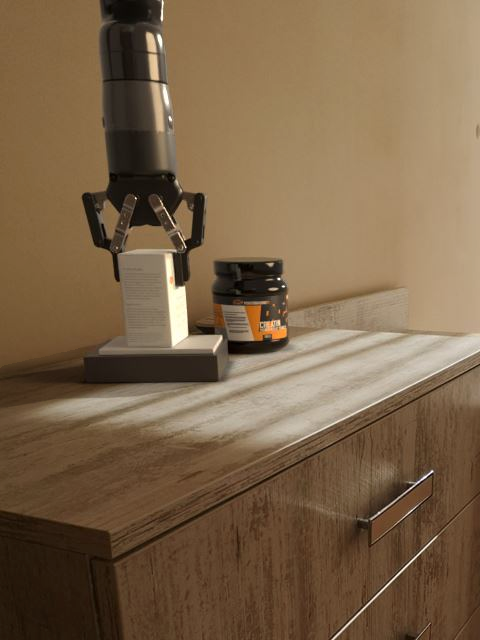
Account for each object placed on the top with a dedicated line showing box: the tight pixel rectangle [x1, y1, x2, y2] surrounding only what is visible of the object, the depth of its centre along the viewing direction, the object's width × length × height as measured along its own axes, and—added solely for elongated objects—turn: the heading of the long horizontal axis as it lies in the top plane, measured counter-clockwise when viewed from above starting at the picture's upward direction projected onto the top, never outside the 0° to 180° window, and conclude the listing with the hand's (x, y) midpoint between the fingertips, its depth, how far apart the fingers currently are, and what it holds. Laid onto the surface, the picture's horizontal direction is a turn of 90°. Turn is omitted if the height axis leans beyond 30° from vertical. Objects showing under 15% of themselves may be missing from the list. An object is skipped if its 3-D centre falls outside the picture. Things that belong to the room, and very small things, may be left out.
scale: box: [83, 334, 229, 384], centre depth 99 cm, size 15×12×4 cm
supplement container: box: [210, 256, 291, 354], centre depth 113 cm, size 10×10×12 cm
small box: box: [117, 248, 189, 347], centre depth 97 cm, size 8×6×10 cm
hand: (153, 285), depth 96 cm, fingers closed on small box, 6 cm apart
